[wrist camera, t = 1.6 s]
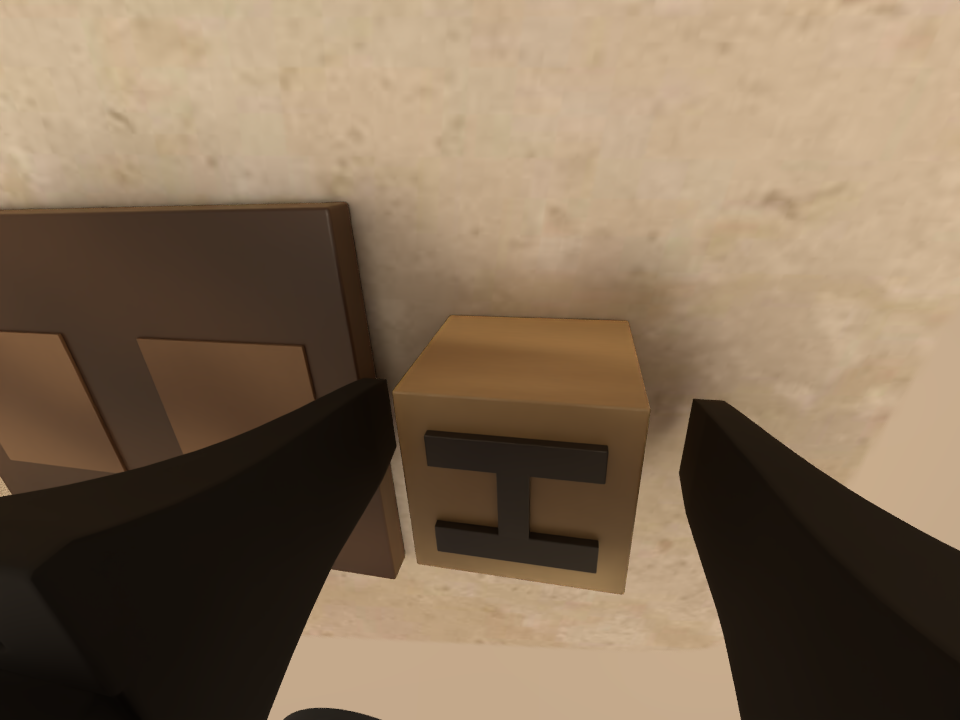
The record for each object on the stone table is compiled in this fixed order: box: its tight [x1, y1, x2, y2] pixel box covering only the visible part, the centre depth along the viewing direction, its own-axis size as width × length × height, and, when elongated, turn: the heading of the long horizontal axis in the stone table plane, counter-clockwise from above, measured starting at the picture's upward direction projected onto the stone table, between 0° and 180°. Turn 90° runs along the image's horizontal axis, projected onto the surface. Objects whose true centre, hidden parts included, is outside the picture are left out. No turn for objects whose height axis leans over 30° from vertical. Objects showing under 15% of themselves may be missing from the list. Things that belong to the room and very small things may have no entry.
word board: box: [0, 202, 405, 579], centre depth 14 cm, size 12×16×1 cm
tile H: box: [392, 315, 651, 595], centre depth 10 cm, size 4×4×4 cm
